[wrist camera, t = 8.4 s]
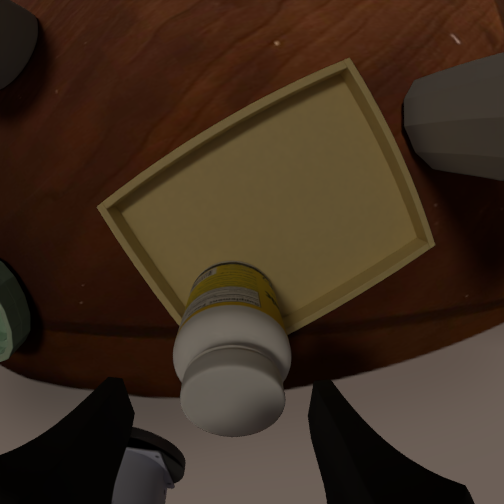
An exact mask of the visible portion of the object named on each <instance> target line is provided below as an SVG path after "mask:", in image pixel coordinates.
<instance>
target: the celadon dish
mask: <svg viewBox="0 0 504 504" xmlns="http://www.w3.org/2000/svg"><path fill="white" fill-rule="evenodd" d="M29 332H30V311H29V308H28V304H27V301H26V297H25V294H24V292H23V291H22V289H21V287H20V285H19V283H18V281H17V279H16V277H15V276H14V275H13V274H12V272H11V271H10V270H9V269H8V268H7V267H6V266H5V264H4V263H3V262H2V261H0V362H1V361H4V360H6V359H9V358H10V357H11V355H12V354H13V353H14V352H15V351H16V350H17V349H18V348H19V347H20V346H21V345H22V344H23V343H24V342H25V340H26V338H27V336H28V334H29Z"/></svg>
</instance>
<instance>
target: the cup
mask: <svg viewBox="0 0 504 504" xmlns="http://www.w3.org/2000/svg"><path fill="white" fill-rule="evenodd" d="M37 37H38V22H37V19H36V17H35V15H33V14H32V13H31V12H29V11H28V10H26V9H25V8H23V7H21V6H19V5H18V4H16V3H14V2H12V1H10V0H0V89H2V88H4V87H5V86H7V85H8V84H9V83H11V82H12V81H13V80H14V79H15V78H16V77H17V76H18V75H19V74H20V73H21V72H22V70H23V69H24V67H25V66H26V64H27V63H28V61H29V59H30V57H31V55H32V53H33V51H34V48H35V45H36V43H37Z"/></svg>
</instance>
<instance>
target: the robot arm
mask: <svg viewBox="0 0 504 504" xmlns="http://www.w3.org/2000/svg"><path fill="white" fill-rule="evenodd" d="M134 414H135V413H134V410H133V407H132V405H131V402H130V399H129V396H128V394H127V391H126V388H125V385H124V382H123V379H122V378H113V377H108V378H107V379H106V380H105V381H104V382H102V383H101V384H100V385H99V386H98V387H97V388H96V389H95V390H94V391H93V392H92V393H91V394H90V395H89V396H88V397H87V398H86V399H85V400H84V401H82V402H81V403H80V404H79V405H78V406H77V407H76V408H75V409H74V410H73V411H71V412H70V413H69V414H68V415H67V416H65V417H64V418H63V419H62V420H61V421H59V422H58V423H57V424H56V425H54V426H53V427H52V428H50V429H49V430H47V431H46V432H44V433H43V434H41V435H40V436H38V437H37V438H35V439H33V440H31V441H29V442H28V443H26V444H24V445H22V446H20V447H18V448H16V449H14V450H12V451H9V452H7V453H4V454H2V455H0V504H165V499H166V492H167V488H171V489H172V488H174V487H175V486H174V483H173V481H172V478H171V476H170V474H169V471H168V469H167V466H166V464H165V462H164V459H163V457H162V454H161V452H160V451H158V450H152V449H143V448H136V447H129V446H127V444H128V441H129V438H130V435H131V430H132V425H133V420H134ZM308 420H309V427H310V434H311V440H312V444H313V447H314V451H315V454H316V458H317V462H318V465H319V469H320V472H321V476H322V480H323V483H324V488H325V492H326V499H327V504H474V501H473V499H472V497H471V495H470V492H469V491H468V489H467V488H466V486H465V485H463V484H460V483H457V482H455V481H452V480H449V479H447V478H444V477H442V476H440V475H438V474H435V473H433V472H431V471H429V470H427V469H425V468H424V467H422V466H420V465H419V464H417V463H416V462H414V461H412V460H410V459H409V458H407V457H406V456H405V455H403V454H402V453H400V452H399V451H398V450H396V449H395V448H394V447H393V446H391V445H390V444H389V443H388V442H386V441H385V440H384V439H383V438H382V437H381V436H379V435H378V434H377V433H376V432H375V431H374V430H373V429H372V428H371V427H370V426H369V425H368V424H367V423H366V422H365V421H364V420H363V419H362V418H361V417H360V415H359V414H358V413H357V412H356V411H355V410H354V409H353V407H352V406H351V405H350V404H349V403H348V401H347V400H346V399H345V398H344V397H343V395H342V394H341V393H340V391H339V390H338V389H337V388H336V386H335V385H334V383H333V382H332V381H331V380H320V381H314V383H313V389H312V395H311V401H310V407H309V413H308Z"/></svg>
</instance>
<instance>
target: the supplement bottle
mask: <svg viewBox="0 0 504 504" xmlns="http://www.w3.org/2000/svg"><path fill="white" fill-rule="evenodd" d="M173 362H174V367H175V370H176V373H177V375H178V377H179V379H180V381H181V382H182V387H181V393H180V404H181V407H182V410H183V412H184V414H185V416H186V417H187V418H188V419H189V420H190V421H191V422H192V423H193V424H194V425H196V426H197V427H199V428H200V429H202V430H204V431H206V432H209V433H212V434H216V435H220V436H227V437H240V436H247V435H251V434H255V433H258V432H260V431H263V430H264V429H266V428H268V427H269V426H271V425H272V424H274V423H275V422H276V421H277V420H278V418H279V417H280V415H281V414H282V412H283V409H284V406H285V393H284V388H283V382H284V380H285V379H286V377H287V375H288V372H289V370H290V366H291V348H290V344H289V339H288V336H287V333H286V330H285V326H284V323H283V319H282V316H281V312H280V309H279V306H278V303H277V300H276V296H275V292H274V290H273V287H272V285H271V283H270V281H269V279H268V278H267V277H266V275H265V274H264V273H263V272H262V271H261V270H259V269H258V268H256V267H255V266H253V265H251V264H248V263H245V262H242V261H222V262H218V263H216V264H213V265H211V266H210V267H208V268H206V269H205V270H204V271H203V272H202V273H201V274H200V275H199V276H198V277H197V279H196V280H195V282H194V284H193V286H192V288H191V291H190V294H189V298H188V301H187V304H186V307H185V311H184V314H183V317H182V321H181V324H180V327H179V331H178V334H177V337H176V340H175V344H174V349H173Z"/></svg>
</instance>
